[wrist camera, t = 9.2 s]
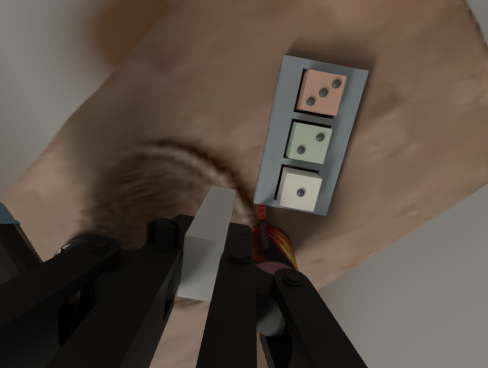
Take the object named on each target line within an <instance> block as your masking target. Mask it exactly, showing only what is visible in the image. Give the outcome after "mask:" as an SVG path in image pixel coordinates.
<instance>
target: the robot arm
mask: <svg viewBox="0 0 488 368" xmlns="http://www.w3.org/2000/svg"><path fill="white" fill-rule="evenodd" d="M235 193H236V190H234V189H228V188H223V187H217V186H212V187H211V189H210V191H209V192H208V194H207V196H206V198H205V200H204V201H203V203H202V205H201V207H200V209H199V211H198V212H197V214H196V216H195V217H193V216H188V215H182V214H180V215H178V216H176V217H174V218H173V219H167V218H160V219H155V220H151V221H150V222H148V223H147V233H146V243H145V244H144V246H143V247H142V248H141V249H138V250H122V249H121V244H120V243H119V241H117V240H115V239H112V238H107V237H104V238H103V237H98V236H91V235H87V236H80V237H77V238H74V239H72V240H71V241H69V242H68V243H66V244H65V245H64V246H62V247H61V248H60V249H59V250H58V251H57V252H56V254H55V255H54V257H53V258H51V259H49V260H47V261H45V262H43V261H42V260H41V258H40V257H39V255H38V253H37V252H36V250H35V249H34V247H33V246H32V244H31V242H30V241H29V239H28V238H27V236H26V235H25V233H24V231H23V230H22V228H21V227H20V222H18V221H16V220H15V219H14V217H13V216H12V215H11V213H10V212H9V211H8V209H7V208H6V206H5V205H4V204H3V203H1V202H0V368H149V366H150V363H151V361H152V358H153V356H154V353H155V351H156V348H157V346H158V343H159V341H160V339H161V336H162V334H163V331H164V329H165V326H166V324H167V321H168V319H169V316H170V314H171V311H172V309H173V306H174V299H175V294H176V291H177V289H178V294H177V296H179V297H185V298H190V299H196V300H202V301H208V302H210V307H209V311H208V316H207V320H206V325H205V329H204V333H203V338H202V342H201V347H200V351H199V356H198V360H197V365H196V368H257V342H256V341H257V338H256V337H257V336H256V331H257V332H259V333H260V341H261V344H262V347H263V351H264V354H265V358H266V361H267V364H268V368H368V367H367V366H366V364H365V363H364V361H363V360H362V358H361V357H360V355H359V354H358V352H357V351H356V350H355V348H354V346H353V345H352V343H351V342H350V340H349V339H348V337H347V336H346V334H345V333H344V331H343V330H342V328H341V327H340V325H339V324H338V322H337V321H336V319H335V318H334V316H333V315H332V313H331V312H330V310H329V309H328V307H327V306H326V304H325V303H324V301H323V300H322V298H321V297H320V295H319V294H318V292H317V291H316V289H315V288H314V286H313V285H312V283H311V282H310V280H309V279H308V278H307V277H306V276H305V275H304V274H302V273H301V272H299V271H297V270H294V269H289V268H281V269H278V270H277V271H275V273H274V275H272V274H270V273H267V272H265V271H263V270H261V269H260V268H258V267H257V266H256V265H255V259H254V257H253V231H252V229H251V228H250V227H249V226H248V225H242V224H237V223H231V222H230V220H231V215H232V209H233V204H234V198H235Z"/></svg>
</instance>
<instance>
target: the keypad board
mask: <svg viewBox="0 0 488 368" xmlns="http://www.w3.org/2000/svg"><path fill="white" fill-rule="evenodd" d="M309 69H311V70H316V71H321V72H326V73H332V74H337V75H342V76H347V78H346V82H345V86H344V89H343V93H342V97H341V100H340V104H339V108H338V111H337V115H336V116H331V115H330V117H329V118H324V117H318V116H313V115H308V114H302V113H297V112H293V111H294V107H295V102H296V98H297V93H298V89H299V85H300V80H301V76H302V71H308V70H309ZM368 72H369V71H367V70H361V69H356V68H351V67H346V66H340V65H335V64H330V63H325V62H320V61H314V60H309V59H304V58H299V57H293V56H288V55H284V56H283V57H282V61H281V66H280V71H279V76H278V81H277V86H276V91H275V96H274V101H273V106H272V111H271V116H270V121H269V126H268V131H267V136H266V141H265V146H264V151H263V155H262V160H261V165H260V170H259V175H258V180H257V185H256V190H255V195H254V203H256V204H262V205H267V206H273V207H278V208H284V209H289V210H295V211H300V212H306V213H312V214H317V215H323V216H326V215H327V212H328V209H329V205H330V202H331V198H332V195H333V192H334V188H335V185H336V181H337V178H338V174H339V171H340V168H341V164H342V161H343V157H344V154H345V151H346V147H347V144H348V140H349V137H350V133H351V130H352V127H353V123H354V120H355V116H356V113H357V110H358V106H359V103H360V99H361V96H362V93H363V89H364V86H365V82H366V79H367V75H368ZM292 118H293V119H298V120H304V121H309V122H314V123H320V124H325V125H327V128H329V129H332V133H331V137H330V141H329V144H328V148H327V152H326V155H325V159H324V163H323V164H318V163H312V162H307V161H301V160H296V159H291V158H288V157H287V156H284V151H285V147H286V142H287V138H288V133H289V129H290V125H291V120H292ZM282 164H286V165H291V166H296V167H302V168H307V169H313V170H315V173H316V174H317V175H319V176H320V177H321V178H322V182H321V186H320V189H319V193H318V197H317V200H316V204H315V208H314V211H313V212H311V211H305V210H300V209H294V208H288V207H283V206H279V203H278V199H277V196H275V191H276V187H277V182H278V178H279V173H280V169H281V165H282Z"/></svg>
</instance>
